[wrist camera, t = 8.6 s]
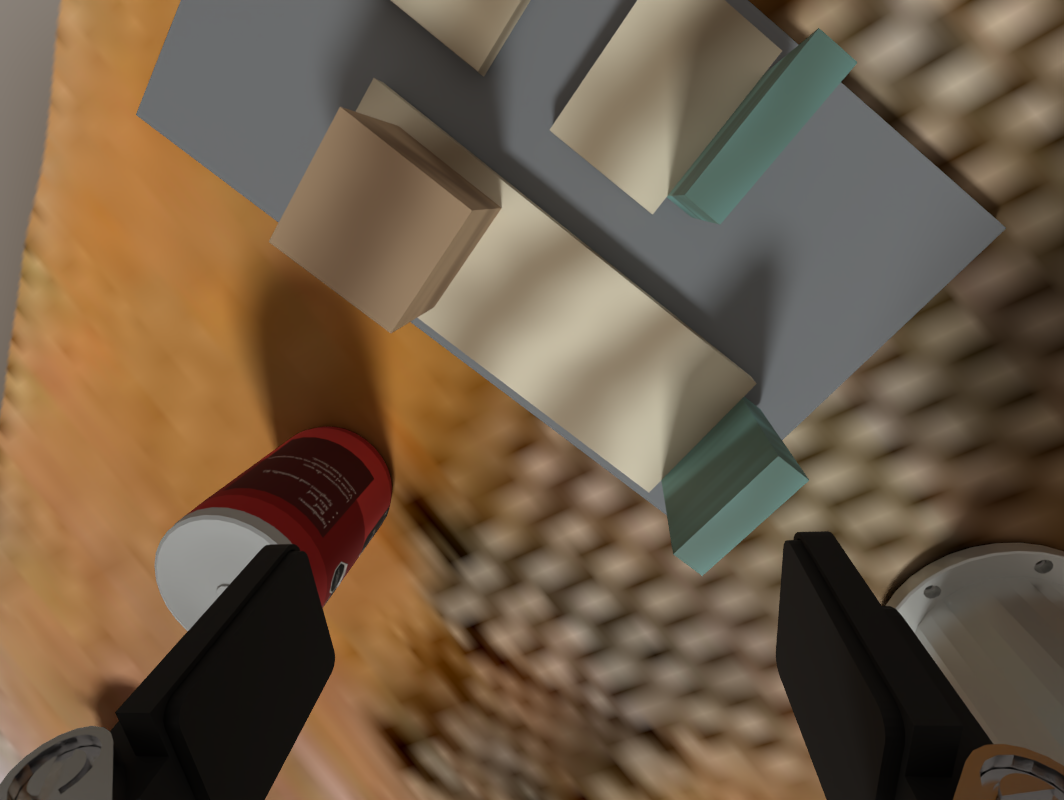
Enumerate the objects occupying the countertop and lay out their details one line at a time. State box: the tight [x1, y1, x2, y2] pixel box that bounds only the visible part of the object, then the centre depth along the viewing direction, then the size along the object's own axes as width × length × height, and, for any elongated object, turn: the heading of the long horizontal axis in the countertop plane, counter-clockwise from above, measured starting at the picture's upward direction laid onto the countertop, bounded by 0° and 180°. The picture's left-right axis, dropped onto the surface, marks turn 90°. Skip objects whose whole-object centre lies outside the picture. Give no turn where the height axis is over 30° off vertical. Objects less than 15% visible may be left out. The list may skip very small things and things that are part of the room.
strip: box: [356, 78, 809, 576], centre depth 26 cm, size 25×8×8 cm, turn 54°
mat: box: [136, 0, 1006, 515], centre depth 28 cm, size 37×21×1 cm, turn 54°
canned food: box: [155, 427, 392, 631], centre depth 31 cm, size 8×8×11 cm
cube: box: [269, 107, 501, 333], centre depth 25 cm, size 6×6×6 cm
